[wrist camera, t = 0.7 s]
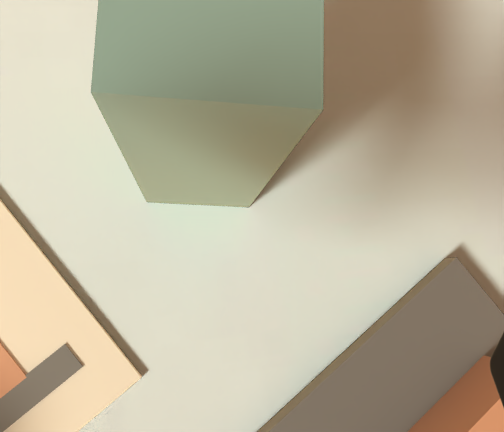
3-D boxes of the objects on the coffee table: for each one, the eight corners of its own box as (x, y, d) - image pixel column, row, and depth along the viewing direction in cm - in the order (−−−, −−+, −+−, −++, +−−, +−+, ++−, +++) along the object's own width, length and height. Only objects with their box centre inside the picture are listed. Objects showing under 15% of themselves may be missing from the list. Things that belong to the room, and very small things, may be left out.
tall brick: (248, 207, 22) (322, 109, 10) (146, 202, 21) (90, 91, 9) (251, 111, 23) (324, -92, 10) (152, 104, 22) (108, -119, 10)
